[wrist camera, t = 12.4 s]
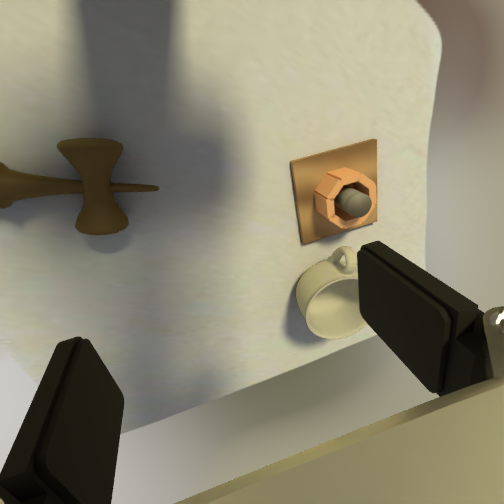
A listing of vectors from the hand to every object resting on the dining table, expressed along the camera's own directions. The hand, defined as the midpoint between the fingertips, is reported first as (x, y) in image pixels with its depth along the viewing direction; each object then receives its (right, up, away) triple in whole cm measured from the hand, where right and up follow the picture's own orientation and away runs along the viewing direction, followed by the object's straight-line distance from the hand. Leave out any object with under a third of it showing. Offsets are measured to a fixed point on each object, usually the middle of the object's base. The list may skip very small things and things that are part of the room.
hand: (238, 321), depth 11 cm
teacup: (+12, -1, +39) cm, 41 cm away
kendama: (-20, +11, +24) cm, 34 cm away
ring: (+13, +10, +32) cm, 36 cm away
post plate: (+12, +11, +33) cm, 37 cm away
